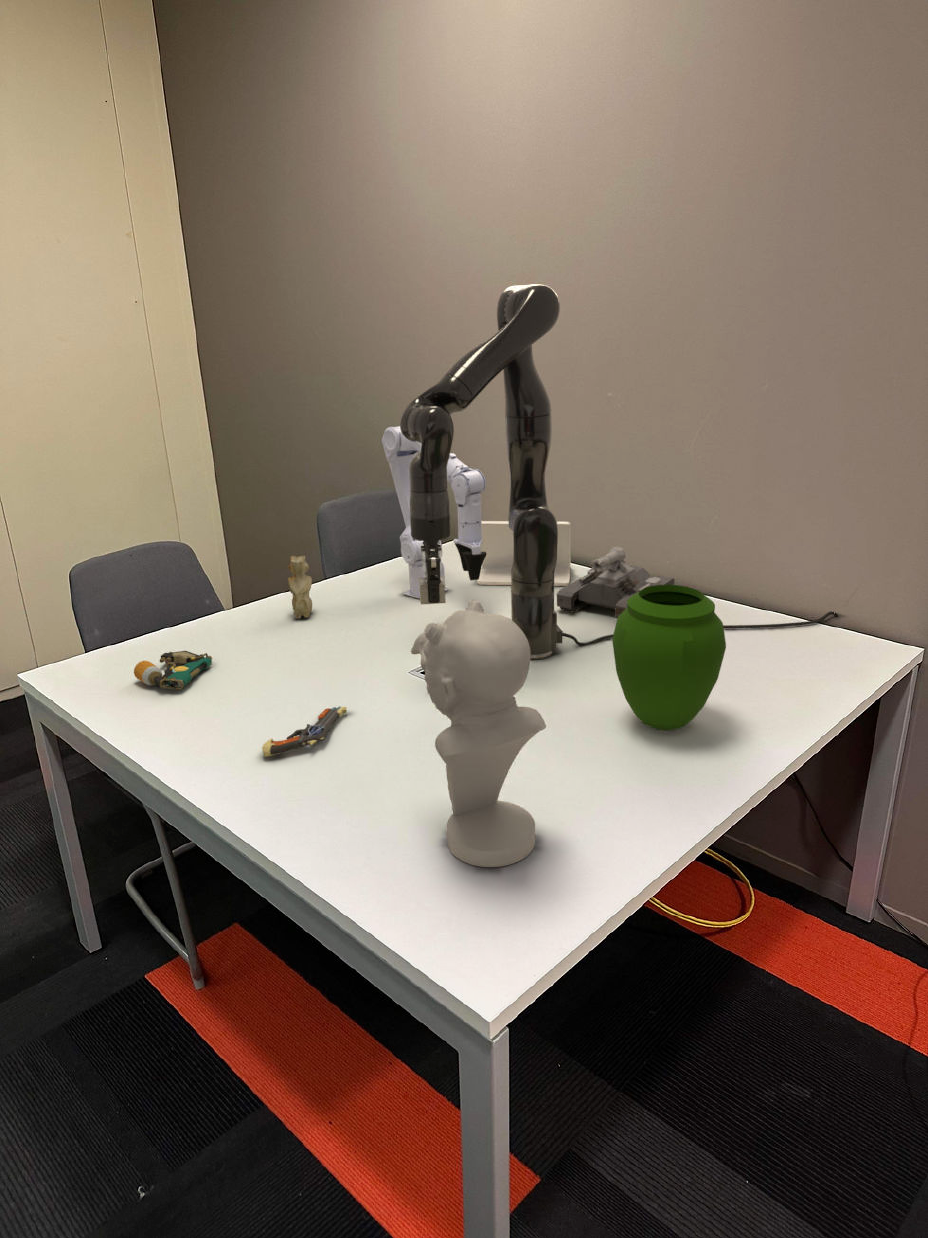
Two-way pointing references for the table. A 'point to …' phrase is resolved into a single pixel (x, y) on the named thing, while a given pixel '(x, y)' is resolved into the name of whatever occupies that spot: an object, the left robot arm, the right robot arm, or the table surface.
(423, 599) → the brick
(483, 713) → the bust sculpture
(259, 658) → the table surface
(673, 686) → the vase
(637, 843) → the table surface
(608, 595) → the toy
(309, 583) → the sculpture
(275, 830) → the table surface
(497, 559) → the tablet stand
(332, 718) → the toy gun
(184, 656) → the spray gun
